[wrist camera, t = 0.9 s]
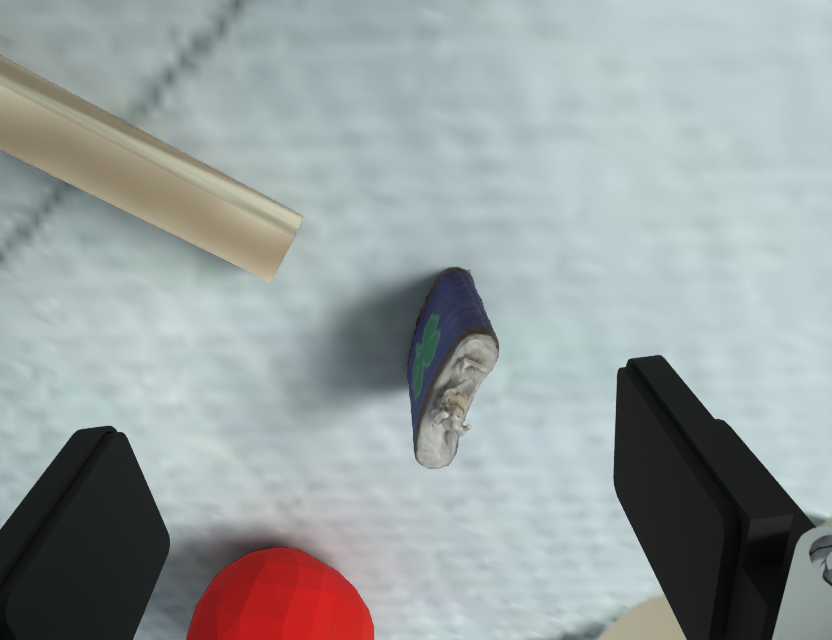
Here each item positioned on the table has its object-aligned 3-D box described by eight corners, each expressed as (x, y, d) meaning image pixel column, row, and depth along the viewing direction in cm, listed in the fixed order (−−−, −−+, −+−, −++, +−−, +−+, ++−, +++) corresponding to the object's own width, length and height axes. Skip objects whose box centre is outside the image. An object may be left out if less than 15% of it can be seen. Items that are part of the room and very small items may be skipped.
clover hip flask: (436, 389, 41) (451, 498, 32) (396, 379, 41) (399, 487, 31) (481, 271, 38) (515, 354, 28) (438, 258, 37) (456, 338, 27)
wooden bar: (-98, 3, 30) (-164, 0, 26) (303, 216, 35) (294, 237, 32) (-109, 60, 31) (-174, 64, 27) (282, 257, 36) (271, 282, 33)
